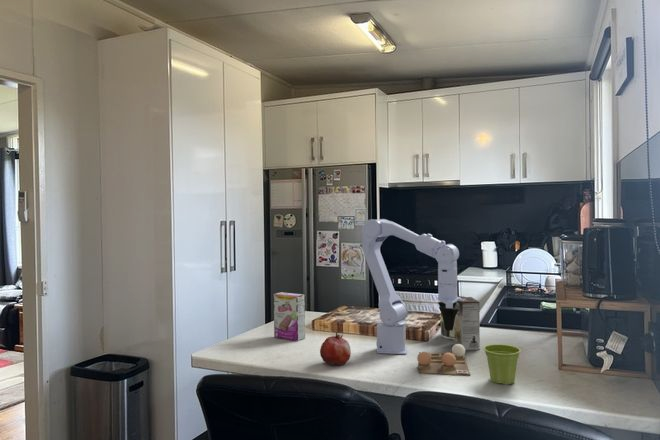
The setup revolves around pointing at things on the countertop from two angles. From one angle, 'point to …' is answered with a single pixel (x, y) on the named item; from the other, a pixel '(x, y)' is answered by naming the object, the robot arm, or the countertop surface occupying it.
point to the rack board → (439, 368)
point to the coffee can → (446, 333)
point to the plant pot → (502, 362)
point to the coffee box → (467, 323)
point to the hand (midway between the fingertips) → (448, 327)
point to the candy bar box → (289, 316)
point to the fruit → (335, 350)
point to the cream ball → (458, 350)
